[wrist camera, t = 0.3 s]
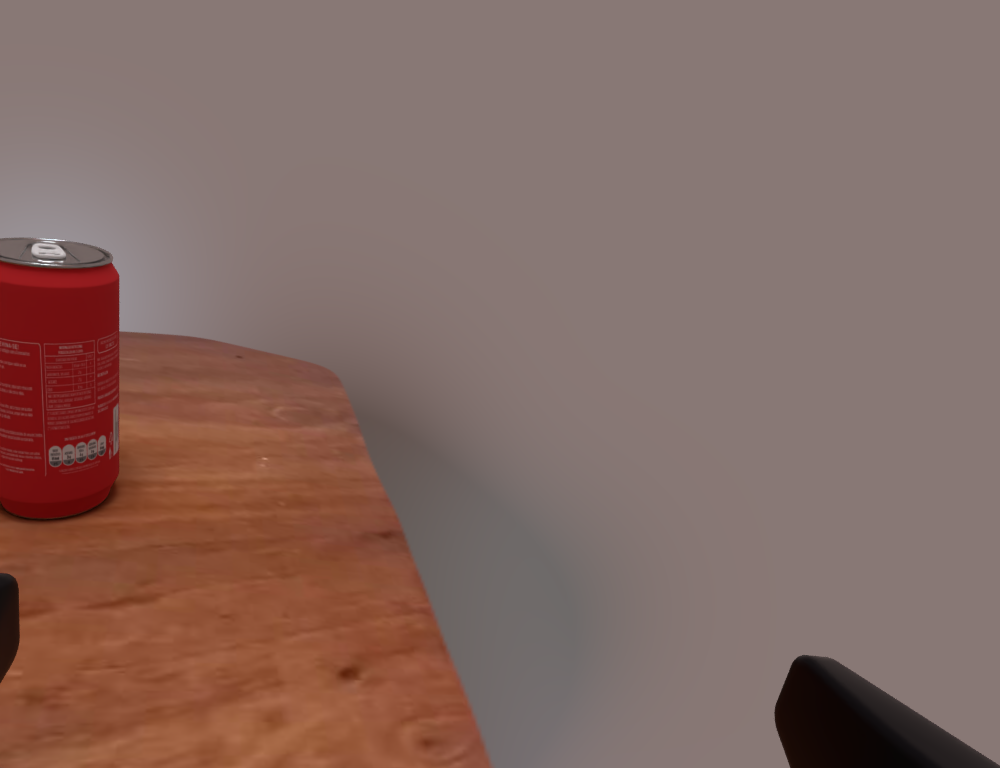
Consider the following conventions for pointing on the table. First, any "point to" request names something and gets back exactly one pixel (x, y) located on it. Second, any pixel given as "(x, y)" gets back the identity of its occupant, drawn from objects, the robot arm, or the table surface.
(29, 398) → the beverage can
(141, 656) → the table surface
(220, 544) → the table surface
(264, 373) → the table surface
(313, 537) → the table surface
